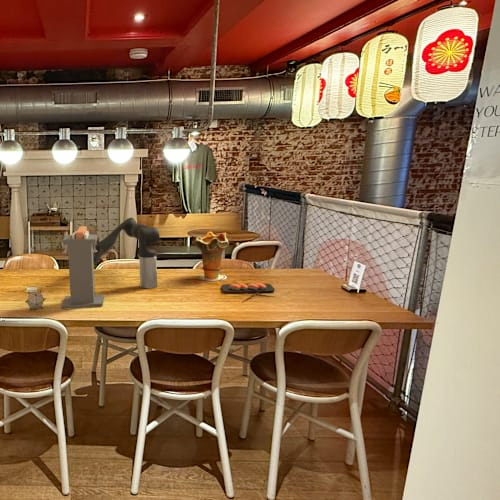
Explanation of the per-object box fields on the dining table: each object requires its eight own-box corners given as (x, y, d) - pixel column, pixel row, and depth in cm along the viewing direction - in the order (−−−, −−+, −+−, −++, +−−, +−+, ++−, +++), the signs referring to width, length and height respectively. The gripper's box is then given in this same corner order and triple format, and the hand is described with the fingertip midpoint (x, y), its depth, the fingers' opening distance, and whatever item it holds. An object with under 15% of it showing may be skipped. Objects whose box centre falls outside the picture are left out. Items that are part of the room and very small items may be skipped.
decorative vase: (190, 280, 244) (191, 233, 240) (199, 273, 267) (200, 230, 263) (224, 283, 242) (226, 235, 238) (231, 275, 265) (232, 231, 261)
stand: (104, 295, 212) (101, 230, 206) (102, 306, 196) (99, 235, 190) (66, 298, 207) (62, 230, 201) (61, 309, 191) (56, 236, 185)
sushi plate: (270, 286, 241) (270, 280, 240) (282, 302, 212) (283, 295, 211) (220, 287, 236) (220, 281, 235) (226, 304, 207) (226, 296, 206)
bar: (80, 232, 212) (80, 226, 211) (86, 231, 212) (86, 226, 212) (76, 239, 191) (75, 232, 190) (83, 238, 192) (82, 232, 191)
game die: (31, 316, 191) (17, 300, 189) (46, 305, 197) (32, 289, 195) (38, 311, 185) (23, 294, 183) (53, 300, 191) (39, 283, 189)
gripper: (100, 253, 234) (98, 243, 219) (73, 254, 229) (69, 244, 215) (100, 240, 236) (98, 230, 221) (73, 241, 232) (69, 230, 217)
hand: (84, 237), depth 218 cm, fingers open, 8 cm apart
